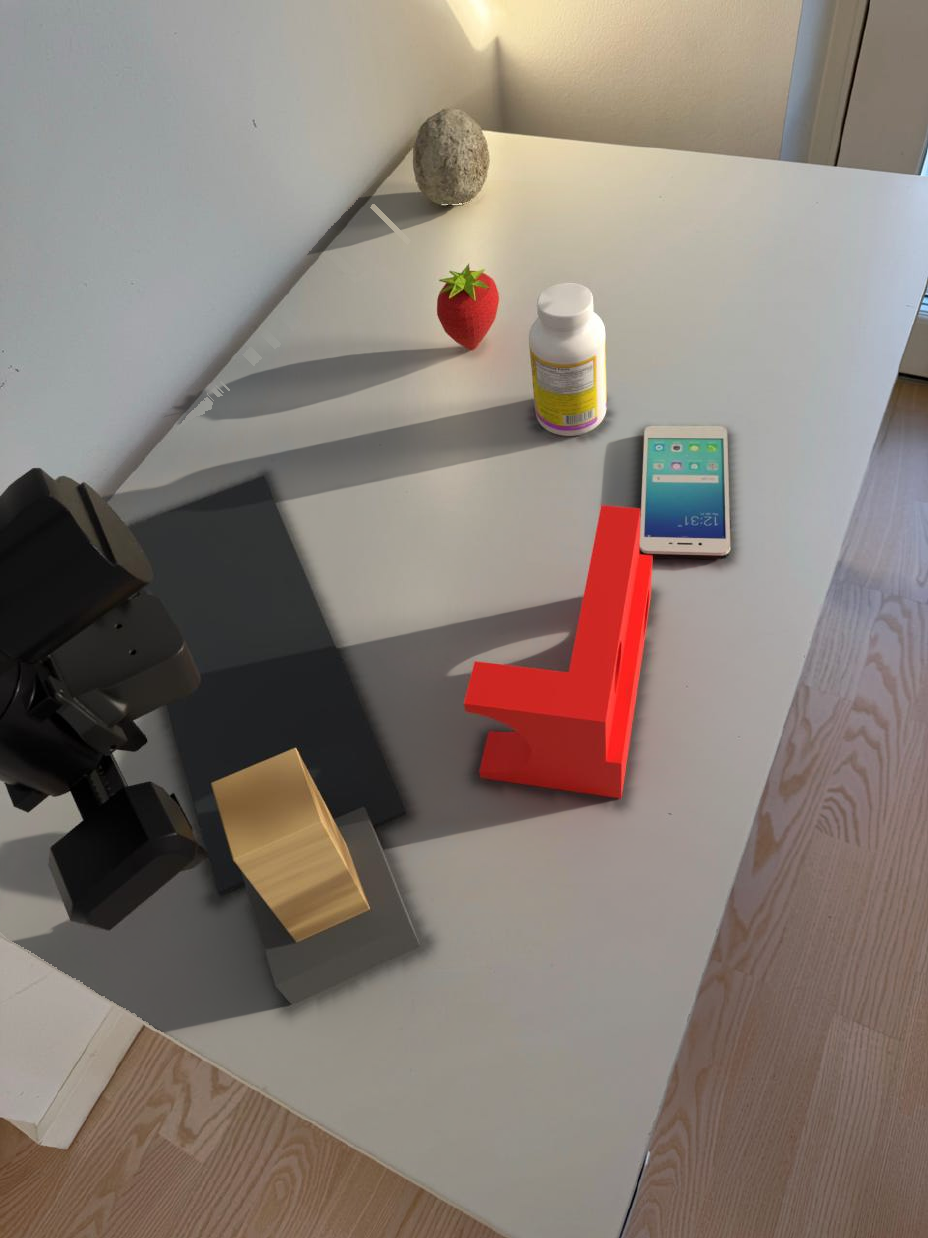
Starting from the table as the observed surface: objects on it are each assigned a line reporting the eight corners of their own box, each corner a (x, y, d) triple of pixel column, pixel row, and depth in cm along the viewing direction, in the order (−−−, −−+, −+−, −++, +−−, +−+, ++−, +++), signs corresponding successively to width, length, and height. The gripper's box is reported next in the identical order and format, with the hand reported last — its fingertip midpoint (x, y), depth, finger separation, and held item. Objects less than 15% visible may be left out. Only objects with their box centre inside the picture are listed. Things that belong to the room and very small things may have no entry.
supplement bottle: (559, 382, 96) (553, 266, 86) (619, 404, 93) (620, 286, 83) (521, 425, 93) (510, 310, 83) (582, 448, 91) (578, 332, 80)
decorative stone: (479, 225, 114) (469, 140, 106) (410, 221, 116) (395, 138, 108) (503, 176, 119) (495, 92, 111) (436, 173, 122) (424, 90, 114)
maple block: (370, 910, 63) (322, 821, 53) (296, 943, 62) (232, 860, 52) (345, 843, 66) (295, 746, 55) (274, 874, 65) (210, 782, 55)
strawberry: (512, 327, 102) (504, 240, 94) (489, 375, 98) (478, 288, 90) (459, 321, 104) (446, 235, 96) (434, 368, 100) (418, 282, 92)
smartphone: (728, 425, 89) (732, 553, 80) (727, 432, 89) (731, 560, 81) (643, 425, 90) (638, 551, 81) (643, 431, 91) (637, 558, 82)
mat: (406, 813, 71) (405, 811, 71) (219, 895, 69) (218, 893, 69) (265, 478, 93) (263, 475, 93) (121, 532, 91) (119, 529, 91)
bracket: (622, 724, 61) (463, 703, 64) (621, 798, 70) (480, 778, 72) (654, 509, 72) (517, 498, 74) (650, 596, 80) (526, 583, 82)
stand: (420, 946, 65) (410, 925, 62) (291, 1005, 64) (274, 986, 61) (375, 831, 70) (364, 806, 67) (255, 883, 69) (238, 860, 66)
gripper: (185, 717, 40) (353, 828, 53) (45, 469, 51) (213, 612, 63) (-34, 898, 39) (190, 965, 52) (-128, 609, 50) (76, 724, 63)
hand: (169, 799), depth 58 cm, fingers open, 9 cm apart
